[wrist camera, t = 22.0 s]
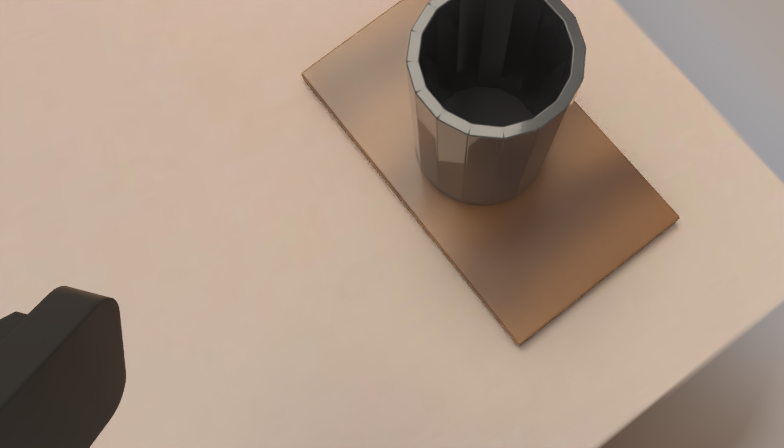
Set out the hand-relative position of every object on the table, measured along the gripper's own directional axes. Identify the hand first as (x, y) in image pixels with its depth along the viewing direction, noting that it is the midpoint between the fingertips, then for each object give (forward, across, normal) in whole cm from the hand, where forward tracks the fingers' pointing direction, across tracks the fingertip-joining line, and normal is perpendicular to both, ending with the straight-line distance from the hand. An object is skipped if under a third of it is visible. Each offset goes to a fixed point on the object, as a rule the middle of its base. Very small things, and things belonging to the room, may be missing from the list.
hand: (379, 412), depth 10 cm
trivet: (+24, 0, +7) cm, 25 cm away
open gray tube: (+23, 0, +7) cm, 24 cm away
